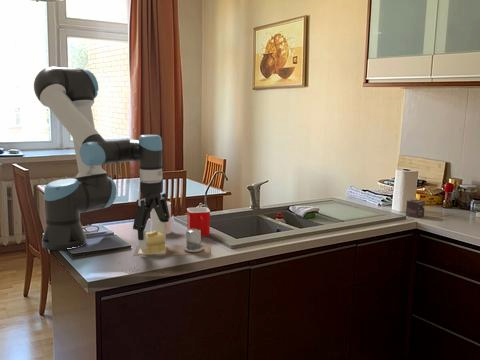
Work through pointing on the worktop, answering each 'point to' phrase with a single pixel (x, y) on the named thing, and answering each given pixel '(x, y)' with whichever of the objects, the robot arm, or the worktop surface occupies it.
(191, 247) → the clear drinking glass
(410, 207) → the box
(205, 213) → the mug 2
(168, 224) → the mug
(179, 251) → the board
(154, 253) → the pad
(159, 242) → the yellow block
